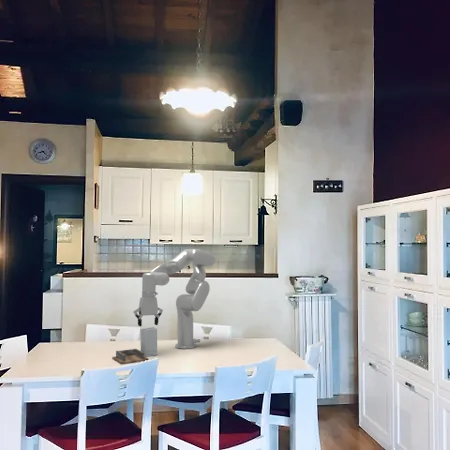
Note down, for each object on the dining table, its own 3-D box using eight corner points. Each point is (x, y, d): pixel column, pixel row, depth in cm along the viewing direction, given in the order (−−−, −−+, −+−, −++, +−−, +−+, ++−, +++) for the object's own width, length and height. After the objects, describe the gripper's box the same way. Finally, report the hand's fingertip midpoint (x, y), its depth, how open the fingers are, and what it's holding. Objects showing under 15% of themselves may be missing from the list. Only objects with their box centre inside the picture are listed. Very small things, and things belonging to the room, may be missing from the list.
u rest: (138, 355, 255) (138, 347, 255) (148, 360, 242) (148, 353, 243) (112, 358, 247) (112, 351, 248) (121, 364, 235) (121, 356, 235)
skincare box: (154, 353, 260) (154, 327, 261) (157, 355, 255) (157, 328, 255) (139, 355, 256) (140, 328, 257) (143, 357, 251) (143, 329, 251)
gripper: (160, 293, 265) (159, 323, 263) (131, 294, 256) (131, 325, 254) (165, 294, 258) (164, 325, 257) (136, 295, 249) (135, 327, 248)
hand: (148, 325), depth 256 cm, fingers open, 9 cm apart
